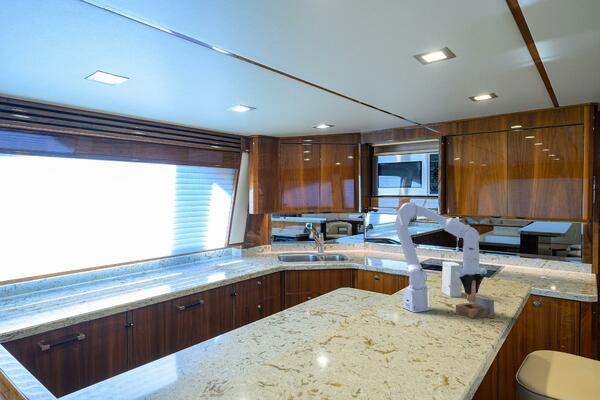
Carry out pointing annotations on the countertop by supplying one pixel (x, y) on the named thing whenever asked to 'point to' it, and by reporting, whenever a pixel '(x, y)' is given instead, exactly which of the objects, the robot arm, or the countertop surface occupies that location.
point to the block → (471, 310)
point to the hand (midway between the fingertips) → (471, 293)
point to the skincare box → (451, 279)
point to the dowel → (472, 293)
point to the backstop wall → (485, 304)
